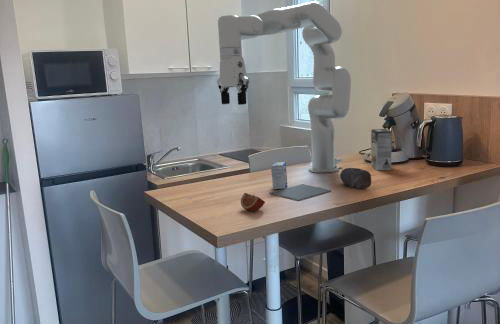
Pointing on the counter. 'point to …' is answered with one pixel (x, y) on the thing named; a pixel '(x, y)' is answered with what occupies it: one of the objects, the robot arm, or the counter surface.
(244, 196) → the fruit slice
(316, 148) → the robot arm
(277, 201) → the counter surface
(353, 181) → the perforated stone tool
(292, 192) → the mat
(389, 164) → the coffee box
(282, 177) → the medicine box
